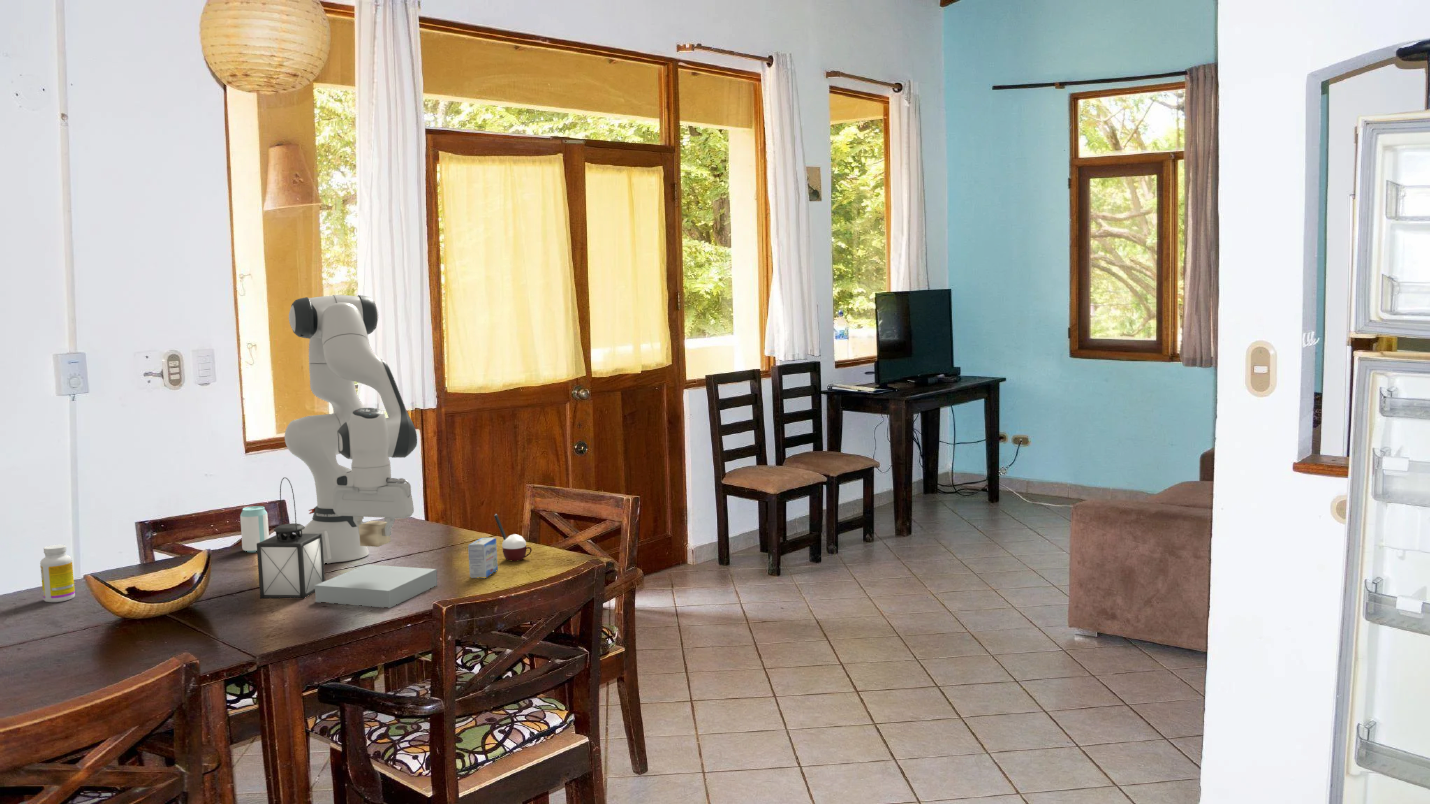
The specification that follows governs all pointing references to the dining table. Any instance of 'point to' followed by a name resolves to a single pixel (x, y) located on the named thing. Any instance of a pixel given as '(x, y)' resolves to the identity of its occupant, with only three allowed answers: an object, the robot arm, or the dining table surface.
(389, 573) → the stand
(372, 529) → the maple cube
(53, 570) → the supplement bottle
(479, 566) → the medicine box
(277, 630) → the dining table surface
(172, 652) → the dining table surface
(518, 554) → the cocoa
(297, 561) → the lantern
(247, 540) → the can
